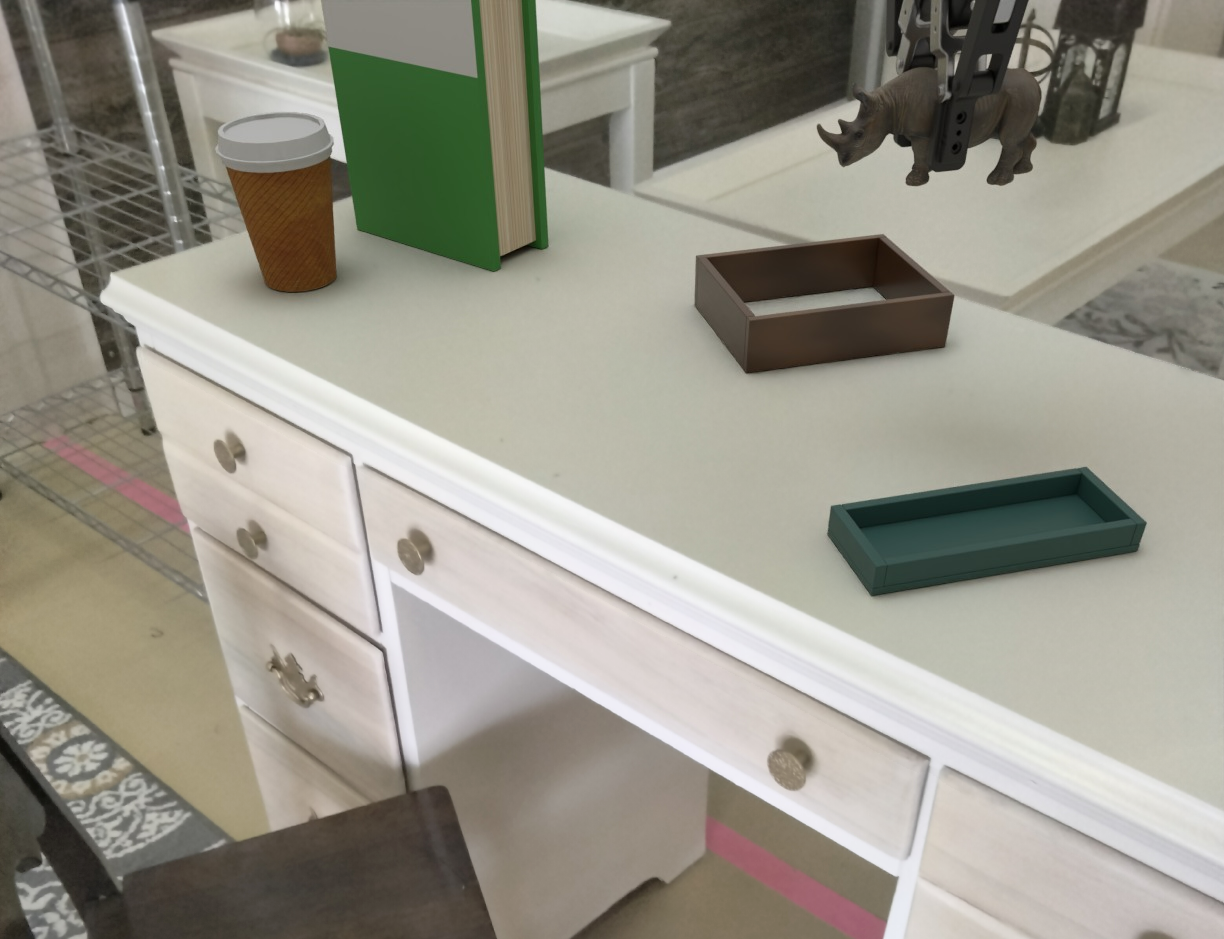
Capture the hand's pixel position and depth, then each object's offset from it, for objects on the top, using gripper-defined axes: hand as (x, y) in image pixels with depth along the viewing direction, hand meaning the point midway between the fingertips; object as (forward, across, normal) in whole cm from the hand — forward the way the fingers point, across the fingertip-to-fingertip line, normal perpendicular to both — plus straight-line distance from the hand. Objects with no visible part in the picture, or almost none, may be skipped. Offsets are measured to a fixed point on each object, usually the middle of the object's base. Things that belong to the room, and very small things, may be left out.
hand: (927, 154), depth 74 cm
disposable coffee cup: (+17, +38, +40) cm, 57 cm away
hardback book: (+17, +44, +26) cm, 53 cm away
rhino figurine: (+2, 0, 0) cm, 2 cm away
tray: (+17, -17, +1) cm, 24 cm away
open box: (+17, +16, 0) cm, 23 cm away
